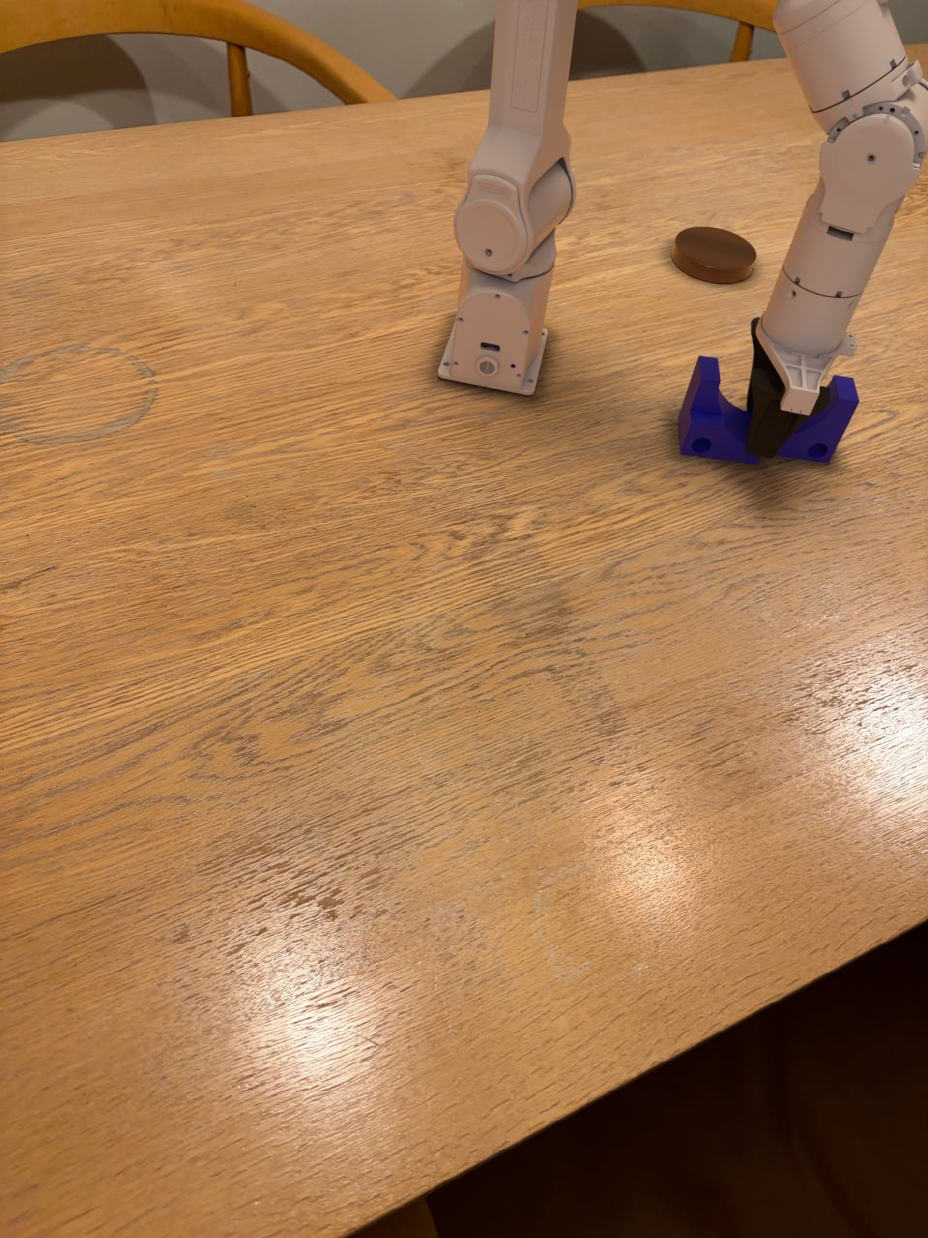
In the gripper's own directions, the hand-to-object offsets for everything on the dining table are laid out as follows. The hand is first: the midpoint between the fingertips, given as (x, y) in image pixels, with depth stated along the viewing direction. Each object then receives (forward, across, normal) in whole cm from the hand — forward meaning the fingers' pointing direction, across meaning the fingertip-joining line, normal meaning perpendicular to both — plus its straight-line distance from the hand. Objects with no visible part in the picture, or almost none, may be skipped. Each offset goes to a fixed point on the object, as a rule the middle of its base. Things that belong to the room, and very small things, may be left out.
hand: (759, 432), depth 78 cm
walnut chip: (+1, +28, +4) cm, 28 cm away
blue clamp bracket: (+2, 0, 0) cm, 2 cm away
